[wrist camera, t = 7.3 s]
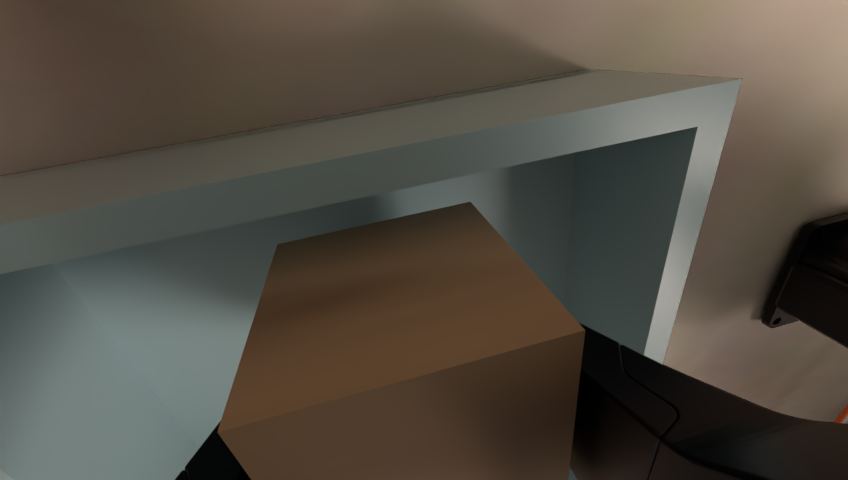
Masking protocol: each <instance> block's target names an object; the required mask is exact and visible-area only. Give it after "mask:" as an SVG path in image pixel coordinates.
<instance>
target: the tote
mask: <svg viewBox="0 0 848 480" xmlns="http://www.w3.org/2000/svg"><path fill="white" fill-rule="evenodd" d="M741 81H742V79H740V78H724V77H708V76H691V75H675V74H659V73H643V72H626V71H610V70H594V69H587V70H582V71H576V72H571V73H565V74H560V75H554V76H549V77H543V78H538V79H532V80H527V81H521V82H516V83H510V84H505V85H499V86H494V87H488V88H483V89H477V90H472V91H466V92H461V93H455V94H450V95H444V96H439V97H433V98H428V99H422V100H417V101H411V102H406V103H400V104H395V105H389V106H384V107H378V108H373V109H367V110H362V111H356V112H351V113H345V114H340V115H334V116H329V117H324V118H318V119H313V120H307V121H302V122H296V123H291V124H285V125H280V126H274V127H269V128H263V129H258V130H252V131H247V132H241V133H236V134H230V135H225V136H219V137H214V138H208V139H203V140H197V141H192V142H186V143H181V144H175V145H170V146H164V147H159V148H153V149H148V150H142V151H137V152H131V153H126V154H120V155H115V156H109V157H104V158H98V159H93V160H87V161H82V162H76V163H71V164H65V165H60V166H54V167H49V168H43V169H38V170H32V171H27V172H21V173H16V174H10V175H5V176H0V480H175V479H176V477H177V476H178V475H179V473H180V472H181V471H182V470H185V466H186V465H187V463H188V462H189V461H190V459H191V458H192V457H193V456H194V454H195V453H196V452H197V450H198V449H199V448H200V447H201V445H202V444H203V443H204V441H205V440H206V439H207V437H208V436H209V435H210V434H211V432H212V431H213V430H214V428H215V427H216V426H217V425H218V423H219V422H220V421H221V419H222V416H223V413H224V410H225V406H226V403H227V400H228V397H229V394H230V391H231V388H232V385H233V381H234V378H235V375H236V372H237V369H238V366H239V363H240V360H241V356H242V353H243V350H244V347H245V344H246V341H247V338H248V335H249V331H250V328H251V325H252V322H253V319H254V316H255V313H256V310H257V306H258V303H259V300H260V297H261V294H262V291H263V288H264V285H265V281H266V278H267V275H268V272H269V269H270V266H271V263H272V260H273V256H274V253H275V250H276V247H277V244H281V243H285V242H290V241H294V240H299V239H303V238H308V237H312V236H317V235H321V234H326V233H330V232H335V231H339V230H344V229H349V228H353V227H358V226H362V225H367V224H371V223H376V222H380V221H385V220H389V219H394V218H398V217H403V216H407V215H412V214H416V213H421V212H425V211H430V210H434V209H439V208H443V207H448V206H452V205H457V204H462V203H466V202H471V203H472V204H473V205H474V206H475V207H476V208H477V210H478V211H479V212H480V213H481V214H482V215H483V216H484V217H485V219H486V220H487V221H488V222H489V223H490V224H491V225H492V226H493V228H494V229H495V230H496V231H497V232H498V233H499V234H500V235H501V236H502V238H503V239H504V240H505V241H506V242H507V243H508V244H509V245H510V247H511V248H512V249H513V250H514V251H515V252H516V253H517V254H518V255H519V257H520V258H521V259H522V260H523V261H524V262H525V263H526V264H527V266H528V267H529V268H530V269H531V270H532V271H533V272H534V273H535V274H536V276H537V277H538V278H539V279H540V280H541V281H542V282H543V283H544V285H545V286H546V287H547V288H548V289H549V290H550V291H551V292H552V293H553V295H554V296H555V297H556V298H557V299H558V300H559V301H560V302H561V304H562V305H563V306H564V307H565V308H566V309H567V310H568V311H569V313H570V314H571V315H572V316H573V317H574V318H575V319H576V320H577V321H578V322H579V323H581V324H583V325H585V326H587V327H589V328H591V329H593V330H595V331H597V332H599V333H601V334H603V335H605V336H607V337H609V338H611V339H613V340H614V341H616V342H618V343H619V344H620V345H625V346H626V347H628V348H630V349H632V350H634V351H636V352H638V353H640V354H642V355H645V356H647V357H649V358H651V359H653V360H655V361H657V362H659V363H661V364H663V361H664V357H665V354H666V350H667V346H668V343H669V339H670V336H671V332H672V328H673V325H674V321H675V318H676V314H677V311H678V307H679V303H680V300H681V296H682V293H683V289H684V286H685V282H686V278H687V275H688V271H689V268H690V264H691V260H692V257H693V253H694V250H695V246H696V243H697V239H698V235H699V232H700V228H701V225H702V221H703V218H704V214H705V210H706V207H707V203H708V200H709V196H710V192H711V189H712V185H713V182H714V178H715V175H716V171H717V167H718V164H719V160H720V157H721V153H722V149H723V146H724V142H725V139H726V135H727V132H728V128H729V124H730V121H731V117H732V114H733V110H734V107H735V103H736V99H737V96H738V92H739V89H740V85H741ZM568 480H577V478H576V477H575V475H574V473H573V471H572V470H571V468H570V469H569V477H568Z"/></svg>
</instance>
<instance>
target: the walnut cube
mask: <svg viewBox="0 0 848 480" xmlns="http://www.w3.org/2000/svg"><path fill="white" fill-rule="evenodd" d="M584 337H585V329H584V328H583V327H582V326H581V325H580V324H579V323H578V321H577V320H576V319H575V318H574V317H573V316H572V315H571V314H570V313H569V311H568V310H567V309H566V308H565V307H564V306H563V305H562V304H561V302H560V301H559V300H558V299H557V298H556V297H555V296H554V295H553V293H552V292H551V291H550V290H549V289H548V288H547V287H546V286H545V285H544V283H543V282H542V281H541V280H540V279H539V278H538V277H537V276H536V274H535V273H534V272H533V271H532V270H531V269H530V268H529V267H528V266H527V264H526V263H525V262H524V261H523V260H522V259H521V258H520V257H519V255H518V254H517V253H516V252H515V251H514V250H513V249H512V248H511V247H510V245H509V244H508V243H507V242H506V241H505V240H504V239H503V238H502V236H501V235H500V234H499V233H498V232H497V231H496V230H495V229H494V228H493V226H492V225H491V224H490V223H489V222H488V221H487V220H486V219H485V217H484V216H483V215H482V214H481V213H480V212H479V211H478V210H477V208H476V207H475V206H474V205H473V204H472V203H471V202H466V203H462V204H457V205H452V206H448V207H443V208H439V209H434V210H430V211H425V212H421V213H416V214H412V215H407V216H403V217H398V218H394V219H389V220H385V221H380V222H376V223H371V224H367V225H362V226H358V227H353V228H349V229H344V230H339V231H335V232H330V233H326V234H321V235H317V236H312V237H308V238H303V239H299V240H294V241H290V242H285V243H281V244H277V247H276V250H275V253H274V256H273V260H272V263H271V266H270V269H269V272H268V275H267V278H266V281H265V285H264V288H263V291H262V294H261V297H260V300H259V303H258V306H257V310H256V313H255V316H254V319H253V322H252V325H251V328H250V331H249V335H248V338H247V341H246V344H245V347H244V350H243V353H242V356H241V360H240V363H239V366H238V369H237V372H236V375H235V378H234V381H233V385H232V388H231V391H230V394H229V397H228V400H227V403H226V406H225V410H224V413H223V416H222V419H221V422H220V425H219V428H218V431H217V433H218V434H219V435H220V437H221V438H222V440H223V441H224V442H225V444H226V445H227V447H228V448H229V449H230V451H231V452H232V454H233V455H234V456H235V458H236V459H237V460H238V462H239V463H240V465H241V466H242V467H243V469H244V470H245V472H246V473H247V474H248V476H249V477H250V479H251V480H568V477H569V469H570V460H571V451H572V442H573V433H574V425H575V416H576V407H577V398H578V390H579V381H580V372H581V363H582V354H583V346H584Z"/></svg>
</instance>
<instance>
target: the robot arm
mask: <svg viewBox="0 0 848 480" xmlns="http://www.w3.org/2000/svg"><path fill="white" fill-rule="evenodd" d="M795 321H801V322H803V323H804V324H806V325H808V326H810V327H811V328H813V329H815V330H816V331H818V332H820V333H822V334H823V335H825V336H827V337H829V338H830V339H832V340H834V341H835V342H837V343H839V344H841V345H842V346H844V347H846V348H848V213H845V214H841V215H837V216H834V217H830V218H826V219H822V220H818V221H814V222H811V223H809V224H807V225H806V226H805V227H804V228H803V229H802V230H801V232H800V233H799V235H798V238H797V240H796V242H795V245H794V247H793V249H792V251H791V254H790V256H789V258H788V260H787V263H786V265H785V267H784V270H783V272H782V274H781V276H780V279H779V281H778V283H777V286H776V288H775V290H774V292H773V295H772V297H771V299H770V301H769V304H768V306H767V308H766V311H765V313H764V315H763V317H762V323H763V324H765V325H766V326H768V327H769V328H775V327H779V326H782V325H785V324H789V323H792V322H795ZM578 323H579V322H578ZM579 324H580V325H581V326H582V327H583V328H584V329H585V337H584V346H583V354H582V363H581V372H580V381H579V390H578V398H577V407H576V416H575V425H574V433H573V442H572V451H571V460H570V468H571V470H572V471H573V473H574V475H575V477H576V478H577V480H848V424H846V423H834V422H823V421H813V420H807V419H801V418H797V417H793V416H789V415H785V414H782V413H779V412H775V411H772V410H770V409H767V408H764V407H762V406H759V405H757V404H755V403H752V402H750V401H747V400H745V399H743V398H740V397H738V396H736V395H733V394H731V393H728V392H726V391H724V390H721V389H719V388H717V387H714V386H712V385H709V384H707V383H705V382H702V381H700V380H698V379H695V378H693V377H690V376H688V375H686V374H684V373H681V372H679V371H677V370H675V369H672V368H670V367H668V366H665V365H663V364H661V363H659V362H657V361H655V360H653V359H651V358H649V357H647V356H645V355H642V354H640V353H638V352H636V351H634V350H632V349H630V348H628V347H626V346H625V345H620V344H619V343H618V342H616V341H614V340H613V339H611V338H609V337H607V336H605V335H603V334H601V333H599V332H597V331H595V330H593V329H591V328H589V327H587V326H585V325H583V324H581V323H579ZM220 422H221V421H220ZM220 422H219V423H218V425H217V426H216V427H215V428H214V430H213V431H212V432H211V434H210V435H209V436H208V437H207V439H206V440H205V441H204V443H203V444H202V445H201V447H200V448H199V449H198V450H197V452H196V453H195V454H194V456H193V457H192V458H191V459H190V461H189V462H188V463H187V465H186V466H185V470H182V471H181V472H180V473H179V475H178V476H177V477H176V479H175V480H251V479H250V477H249V476H248V474H247V473H246V472H245V470H244V469H243V467H242V466H241V465H240V463H239V462H238V460H237V459H236V458H235V456H234V455H233V454H232V452H231V451H230V449H229V448H228V447H227V445H226V444H225V442H224V441H223V440H222V438H221V437H220V435H219V434H218V433H217V431H218V428H219V425H220Z"/></svg>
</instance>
